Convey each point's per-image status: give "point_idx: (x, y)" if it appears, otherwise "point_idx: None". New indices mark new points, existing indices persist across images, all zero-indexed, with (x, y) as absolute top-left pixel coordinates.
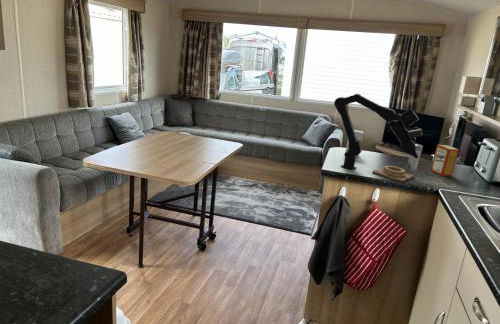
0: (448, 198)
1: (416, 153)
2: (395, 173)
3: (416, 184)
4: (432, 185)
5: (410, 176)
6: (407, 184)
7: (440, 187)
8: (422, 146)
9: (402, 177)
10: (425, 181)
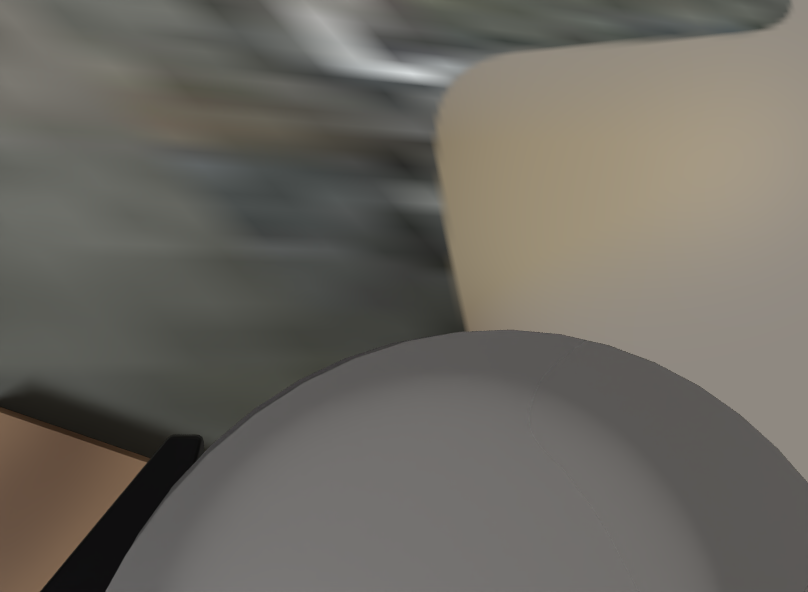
0: (656, 8)
1: None
2: None
3: None
4: (233, 137)
5: (98, 463)
6: None
7: (247, 39)
8: (644, 360)
9: None
10: (79, 223)
